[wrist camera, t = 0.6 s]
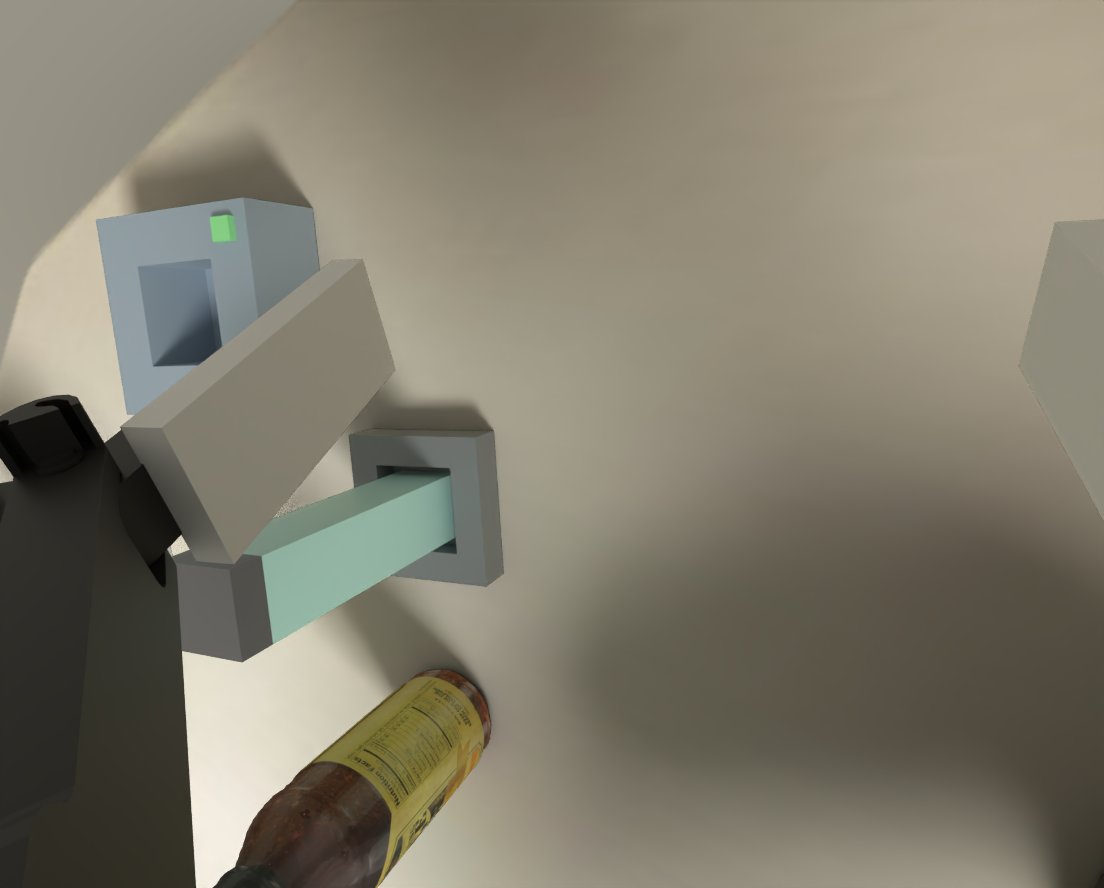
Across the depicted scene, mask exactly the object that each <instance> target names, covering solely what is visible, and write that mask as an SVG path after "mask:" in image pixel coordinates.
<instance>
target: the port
mask: <svg viewBox="0 0 1104 888" xmlns="http://www.w3.org/2000/svg"><path fill="white" fill-rule="evenodd" d="M96 224H97V230H98V236H99V242H100V249H101V255H102V261H103V267H104V274H105V280H106V286H107V292H108V299H109V305H110V311H111V317H112V324H113V330H114V336H115V342H116V348H117V355H118V361H119V367H120V373H121V380H122V386H123V392H124V398H125V405H126V411H127V415H136V414H137V413H138V412H140V411H141V410H142V409H144V408H145V407H146V406H147V405H149V404H150V403H151V402H152V401H154V400H155V399H156V398H158V397H159V396H160V395H161V394H163V393H164V392H165V391H166V390H168V389H169V388H170V387H172V386H173V385H174V384H175V383H177V382H178V381H179V380H181V379H182V378H183V377H184V376H186V375H187V374H188V373H189V372H191V371H192V370H193V369H195V368H196V367H197V366H198V365H200V364H201V363H202V362H203V361H205V360H206V359H207V358H209V357H210V356H211V355H212V354H214V353H215V352H216V351H218V350H219V349H220V348H221V347H223V346H224V345H225V344H226V343H228V342H229V341H230V340H232V339H233V338H234V337H235V336H237V335H238V334H239V333H240V332H242V331H243V330H244V329H246V328H247V327H248V326H249V325H251V324H252V323H253V322H254V321H256V320H257V319H258V318H260V317H261V316H262V315H263V314H265V313H266V312H267V311H269V310H270V309H271V308H272V307H274V306H275V305H276V304H277V303H279V302H280V301H281V300H283V299H284V298H285V297H286V296H288V295H289V294H290V293H291V292H293V291H294V290H295V289H297V288H298V287H299V286H300V285H302V284H303V283H304V282H305V281H307V280H308V279H309V278H311V277H312V276H313V275H314V274H316V273H317V272H318V271H319V262H318V252H317V243H316V234H315V225H314V216H313V208H308V207H301V206H295V205H289V204H282V203H276V202H270V201H263V200H257V199H251V198H244V197H242V198H235V199H229V200H222V201H216V202H209V203H202V204H196V205H189V206H183V207H176V208H170V209H163V210H156V211H150V212H143V213H137V214H130V215H124V216H117V217H110V218H104V219H97V220H96Z"/></svg>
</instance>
